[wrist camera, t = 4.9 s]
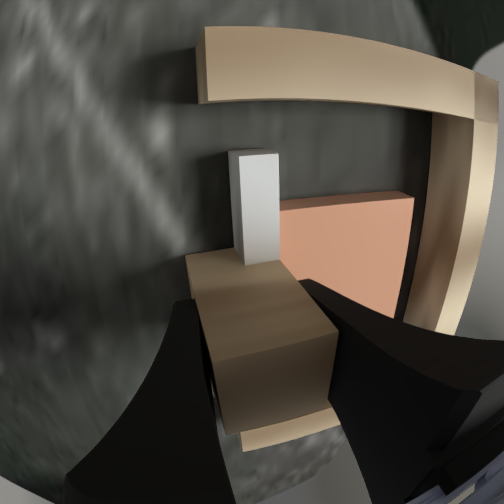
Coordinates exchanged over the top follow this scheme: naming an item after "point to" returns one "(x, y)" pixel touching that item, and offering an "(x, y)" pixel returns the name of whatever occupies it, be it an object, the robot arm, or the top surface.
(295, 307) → the wood block with post
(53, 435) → the top surface
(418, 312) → the tile rest
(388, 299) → the terracotta tile
